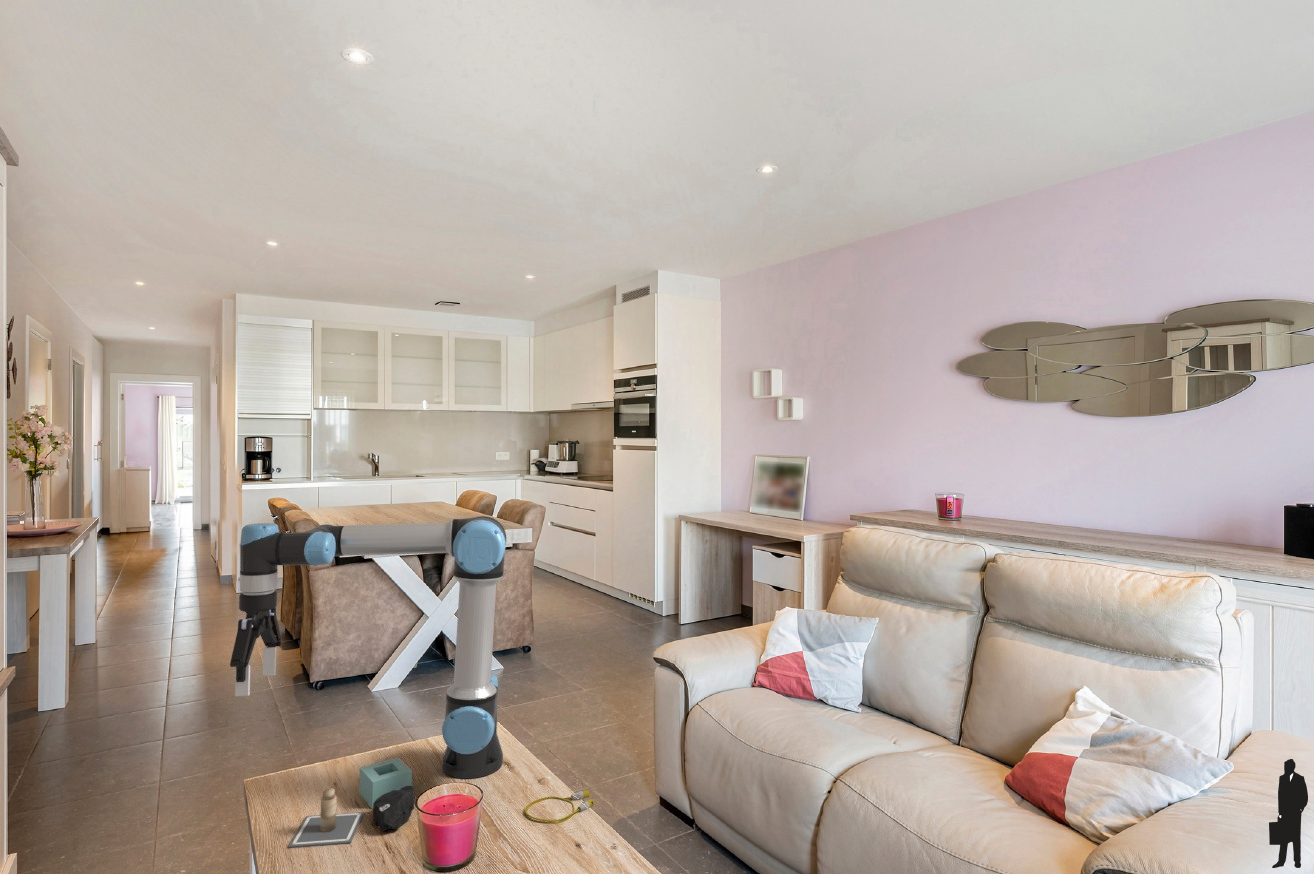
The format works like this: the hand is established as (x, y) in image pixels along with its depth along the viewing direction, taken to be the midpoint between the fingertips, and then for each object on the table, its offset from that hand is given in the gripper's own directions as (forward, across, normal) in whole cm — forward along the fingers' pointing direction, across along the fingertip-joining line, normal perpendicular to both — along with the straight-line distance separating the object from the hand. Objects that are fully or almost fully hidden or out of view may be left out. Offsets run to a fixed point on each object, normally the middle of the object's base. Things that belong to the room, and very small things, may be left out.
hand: (256, 685), depth 161 cm
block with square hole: (+27, -2, +28) cm, 39 cm away
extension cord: (+28, +7, +69) cm, 75 cm away
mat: (+27, +12, +20) cm, 36 cm away
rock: (+28, +9, +33) cm, 44 cm away
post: (+27, +12, +20) cm, 36 cm away
